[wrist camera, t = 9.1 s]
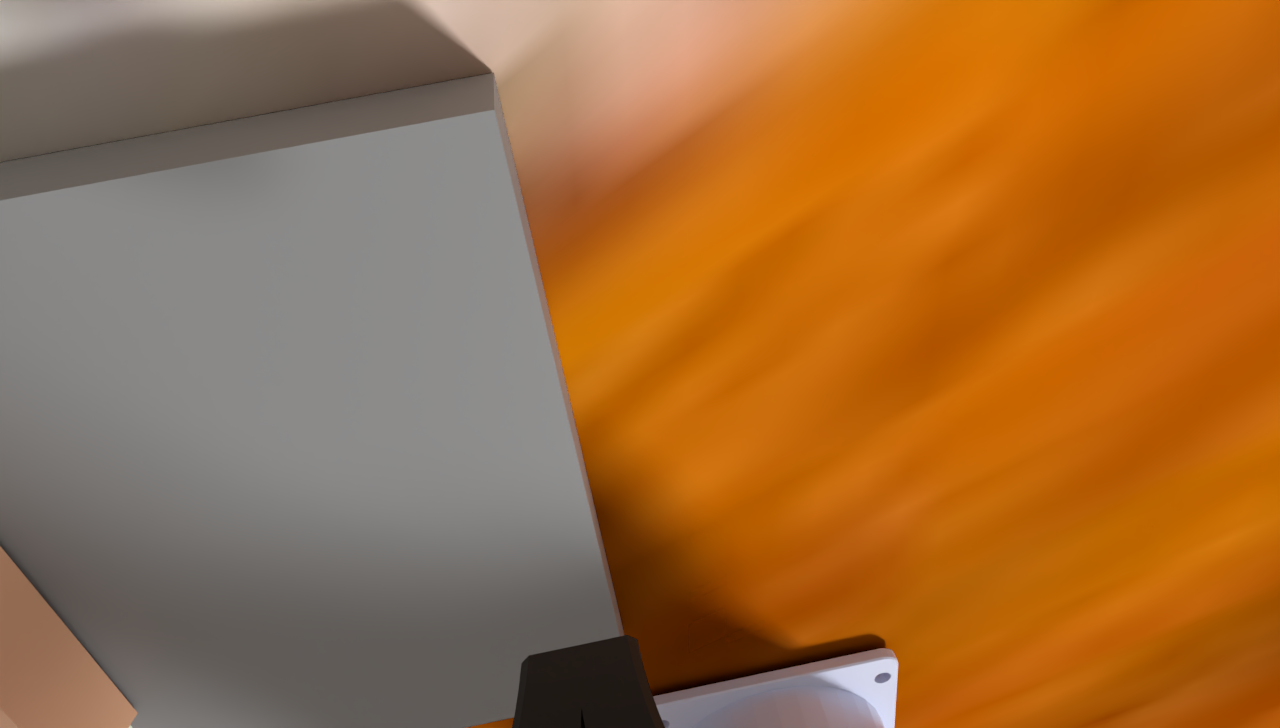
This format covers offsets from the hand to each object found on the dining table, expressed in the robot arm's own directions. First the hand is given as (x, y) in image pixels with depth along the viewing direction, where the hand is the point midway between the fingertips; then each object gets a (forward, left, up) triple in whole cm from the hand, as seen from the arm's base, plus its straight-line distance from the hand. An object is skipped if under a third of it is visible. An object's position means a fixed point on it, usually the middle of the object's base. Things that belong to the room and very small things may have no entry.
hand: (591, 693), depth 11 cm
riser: (-3, +6, -9) cm, 12 cm away
